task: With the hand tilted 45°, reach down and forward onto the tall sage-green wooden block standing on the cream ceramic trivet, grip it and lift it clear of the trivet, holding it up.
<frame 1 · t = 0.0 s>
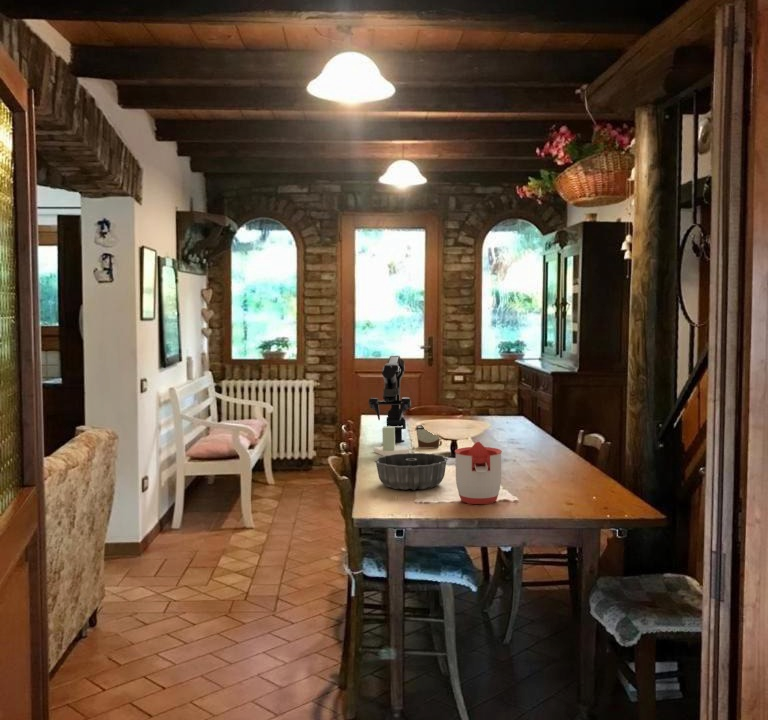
hand: (389, 420, 349), 15 cm above the table, tool tilted 35°, fingers open, 9 cm apart
food container: (428, 446, 366), on the table
sage block: (389, 449, 348), point 2 cm above the table, touching trivet
trivet: (391, 452, 351), on the table
citrus juicer: (478, 502, 260), on the table
bundt pan: (411, 486, 286), on the table
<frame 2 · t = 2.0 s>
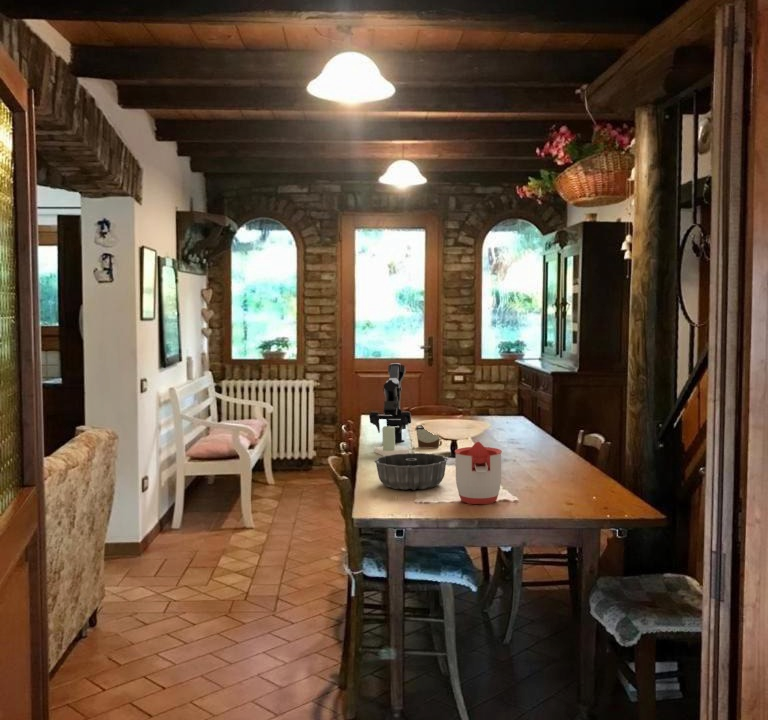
hand: (389, 432, 349), 9 cm above the table, tool tilted 45°, fingers open, 9 cm apart
nothing on the table moved.
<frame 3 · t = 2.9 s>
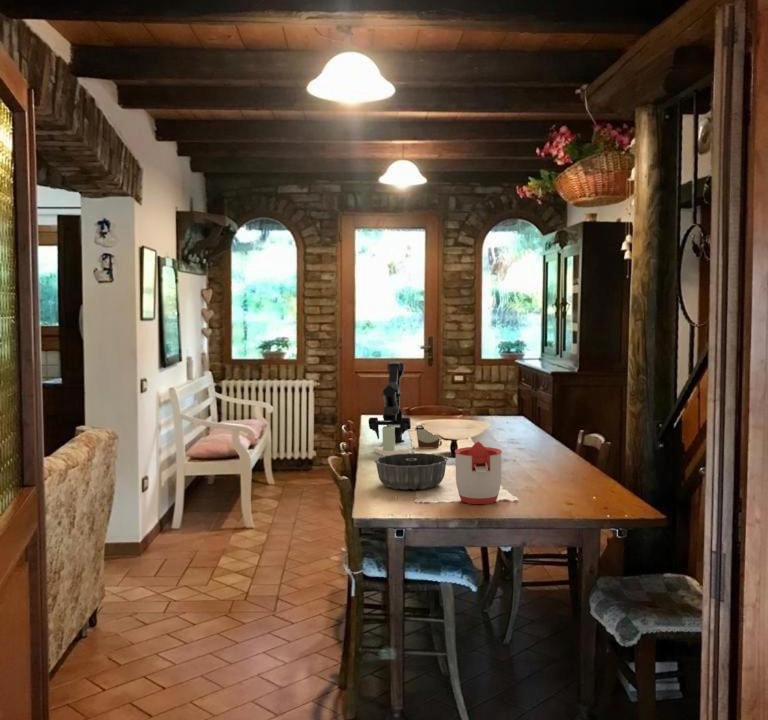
hand: (388, 438, 347), 7 cm above the table, tool tilted 45°, fingers open, 9 cm apart
nothing on the table moved.
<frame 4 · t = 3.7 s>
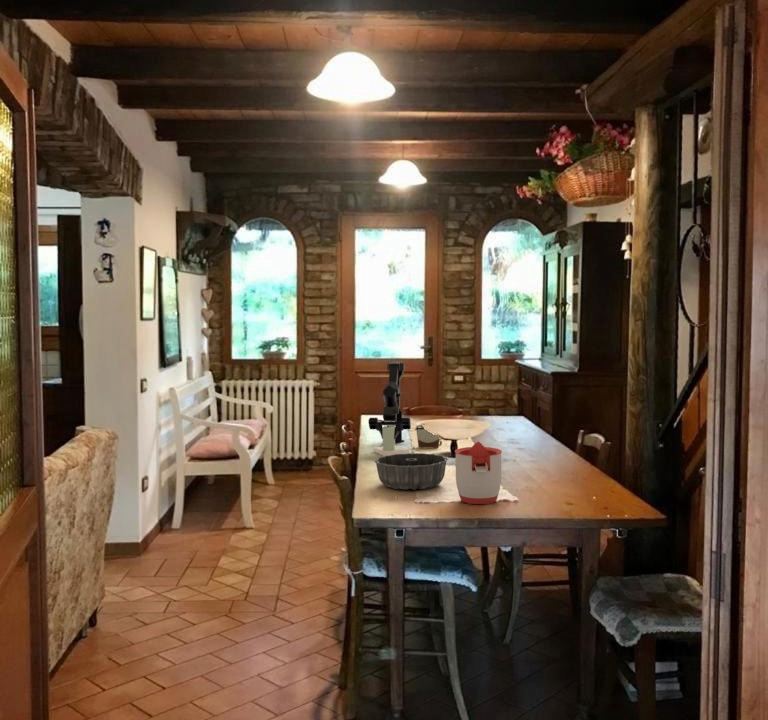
hand: (388, 438, 347), 7 cm above the table, tool tilted 45°, fingers closed on sage block, 5 cm apart
sage block: (389, 449, 348), point 2 cm above the table, touching gripper, trivet
everything else where it was.
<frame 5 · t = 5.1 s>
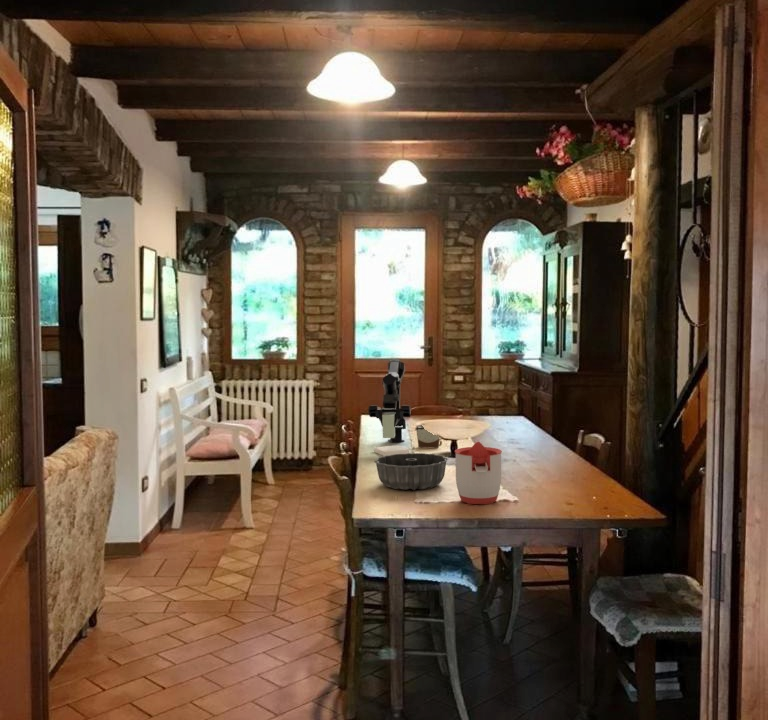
hand: (388, 426, 347), 13 cm above the table, tool tilted 45°, fingers closed on sage block, 5 cm apart
sage block: (389, 437, 348), point 7 cm above the table, touching gripper
everything else where it was.
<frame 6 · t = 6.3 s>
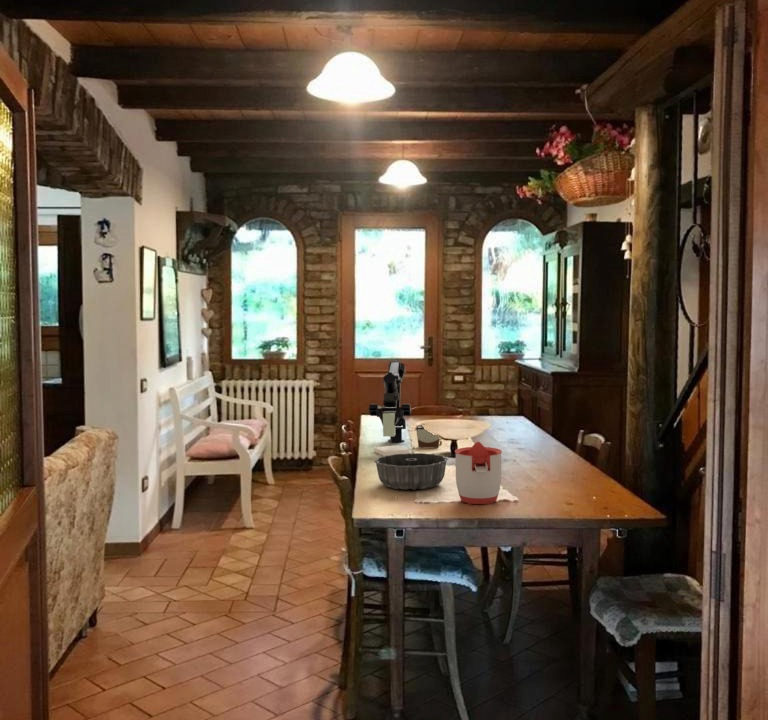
hand: (388, 424, 348), 13 cm above the table, tool tilted 45°, fingers closed on sage block, 5 cm apart
sage block: (389, 435, 350), point 8 cm above the table, touching gripper
everything else where it was.
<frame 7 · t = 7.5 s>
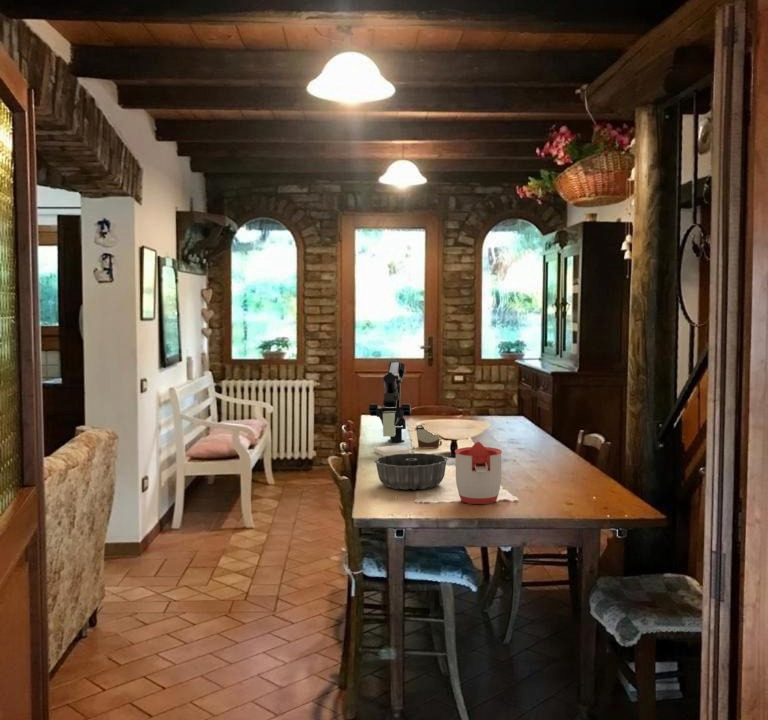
hand: (388, 424, 348), 13 cm above the table, tool tilted 45°, fingers closed on sage block, 5 cm apart
sage block: (389, 435, 350), point 8 cm above the table, touching gripper
everything else where it was.
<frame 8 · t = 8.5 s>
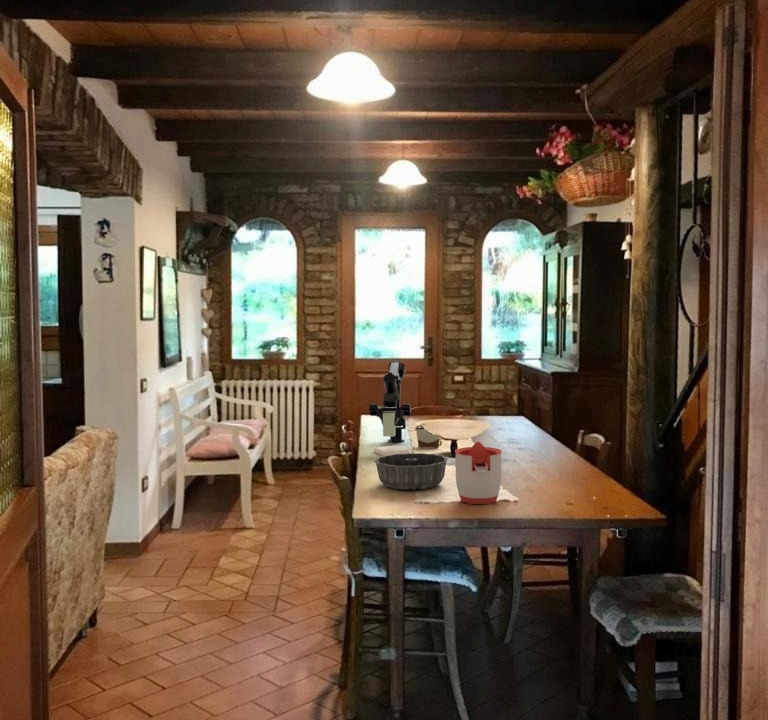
hand: (388, 424, 348), 13 cm above the table, tool tilted 45°, fingers closed on sage block, 5 cm apart
sage block: (389, 435, 350), point 8 cm above the table, touching gripper
everything else where it was.
at the end: sage block point 7.9 cm above the table; the gripper is holding sage block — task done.
